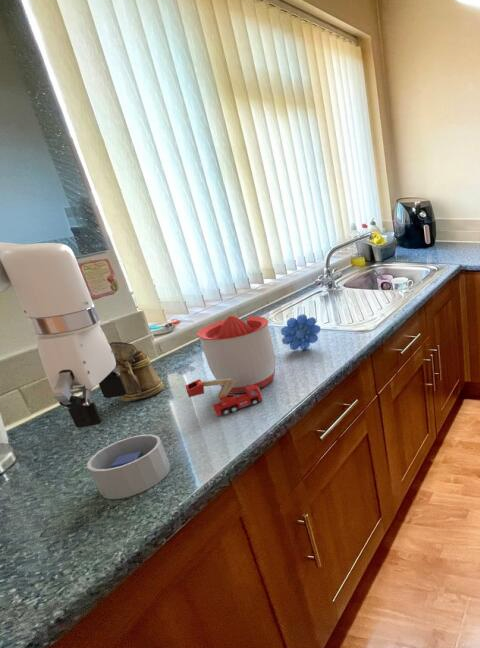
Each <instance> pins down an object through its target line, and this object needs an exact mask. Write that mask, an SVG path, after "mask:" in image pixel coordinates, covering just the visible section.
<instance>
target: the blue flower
mask: <svg viewBox="0 0 480 648" xmlns="http://www.w3.org/2000/svg"><path fill="white" fill-rule="evenodd" d="M320 332H321V326H320V325H318V324H317V319H316V318H315V317H314V316H310V317H307V315H306V314H304V313H301V314H299V315H297V316H296V318H295V317H290V318H289V319H287V321H286V325H285V326H283V327H282V328H281V330H280V333H281V335H282V336H283V337H282V339H281V342H282V344H283V345H285V346H288V345H289V349H291V350H292V351H297V350H298V349H299V348H300V349H301V350H307V349H308V348H309V347H310V345H311V344H315V343H317V342H318V340H319V336H318V334H320Z"/></svg>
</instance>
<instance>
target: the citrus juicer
mask: <svg viewBox="0 0 480 648" xmlns="http://www.w3.org/2000/svg"><path fill="white" fill-rule="evenodd" d="M196 336H197V338H199V340H200V343H201V346H202V349H203V350H202V351H203V353H204V356H205V359H206V362H207V365H208V368H209V371H210V372H211V373H212V375H213V377H214V380H221V379H226V378H230V379H233V380H235V382H236V383H235V384H234V386H233V387H232V389H231V390H230V392H229V394H242V393H243V394H244V393H246V390H245V386H246V385H256V386H258V388H259V389H261V388H264V387H266V386H267V385H268V384H270V383H271V382H272V381H273V380H274V377H275V373H276V352H275V347H274V343H273V340H272V336H271V333H270V328H269V320H268V319H267V318H266V317H264V316H260V315H259V316H258V315H257V316H255V315H252V316H251V315H250V316H247V319H246V322H245V320H243V319H241V318H239V317H237V316H234V315H228V317H227V318H225V319H223V320H219V321H216V322H212V323H210V324H208V325H205V326H203V327H202V328H201V329H199V330H198V331H197V335H196ZM219 386H220V387H221V388H222V386H223V384H221V385H219Z"/></svg>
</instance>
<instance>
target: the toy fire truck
mask: <svg viewBox="0 0 480 648" xmlns="http://www.w3.org/2000/svg"><path fill="white" fill-rule="evenodd" d="M235 383H236V382H235V380H233V379H230V378H226V379H221V380H216V379H213V380H212V379H211V380H203V381H202V380H201V379H200V378H198V379H195V380H193V381H192V382H189V383H187V384H186V385H185V390H186V393H187V396H188V398H192V397H195V396H199V395H203V394H204V393H205V388H204V387H212V386H220V385H221V384H223V386H222V387H221V388H220V390H219V393H218V394H217V396H216V397H217V400H218V401H219V402H217V403H216V402H215V403H213V404H212V409H213V410H214V413H215V415H216V416H217V417H219V416H222V415H225V416H226V415H229V414H230V412H232V413H235V412H237V411H238V410H239V409H243V408H245V407H248V406H251V405H257V404H258V403H260V402H262V401H263V396H262V391H261V388H258V386H256V385H246V386H245V390H246V392H245V393H243V394H240V395H238V396H235V393H230V390H231V389H232V387H233V386H234V384H235Z"/></svg>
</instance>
